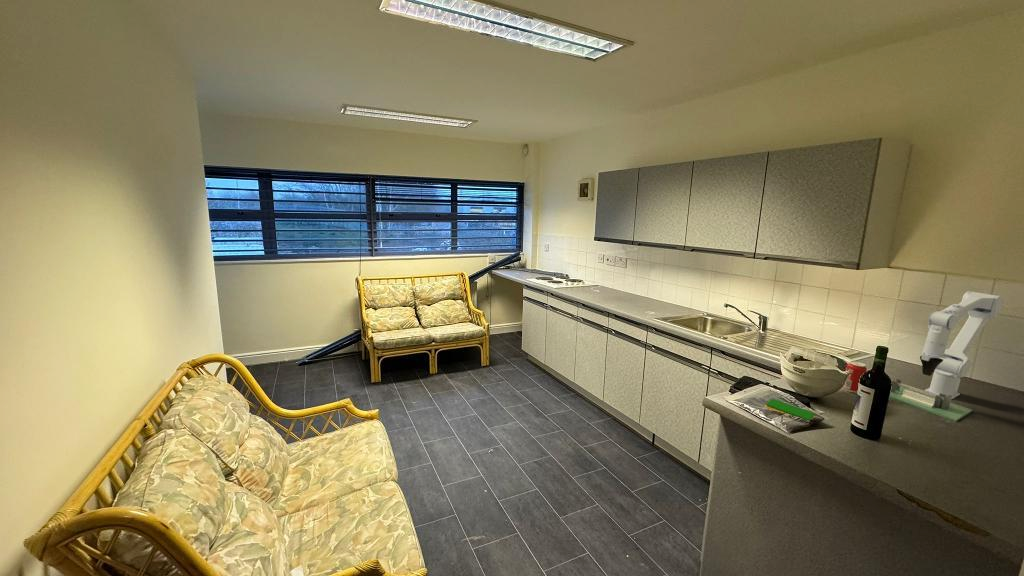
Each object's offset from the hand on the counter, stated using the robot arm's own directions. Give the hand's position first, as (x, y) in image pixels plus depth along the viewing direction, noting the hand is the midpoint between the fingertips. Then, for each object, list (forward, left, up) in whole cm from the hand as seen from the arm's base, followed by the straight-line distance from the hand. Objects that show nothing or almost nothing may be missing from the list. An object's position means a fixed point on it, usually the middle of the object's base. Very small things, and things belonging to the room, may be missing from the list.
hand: (926, 374), depth 158 cm
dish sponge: (+61, -17, -11) cm, 65 cm away
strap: (+3, 0, -7) cm, 7 cm away
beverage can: (+17, -16, -11) cm, 26 cm away
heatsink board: (+3, +1, -10) cm, 11 cm away
